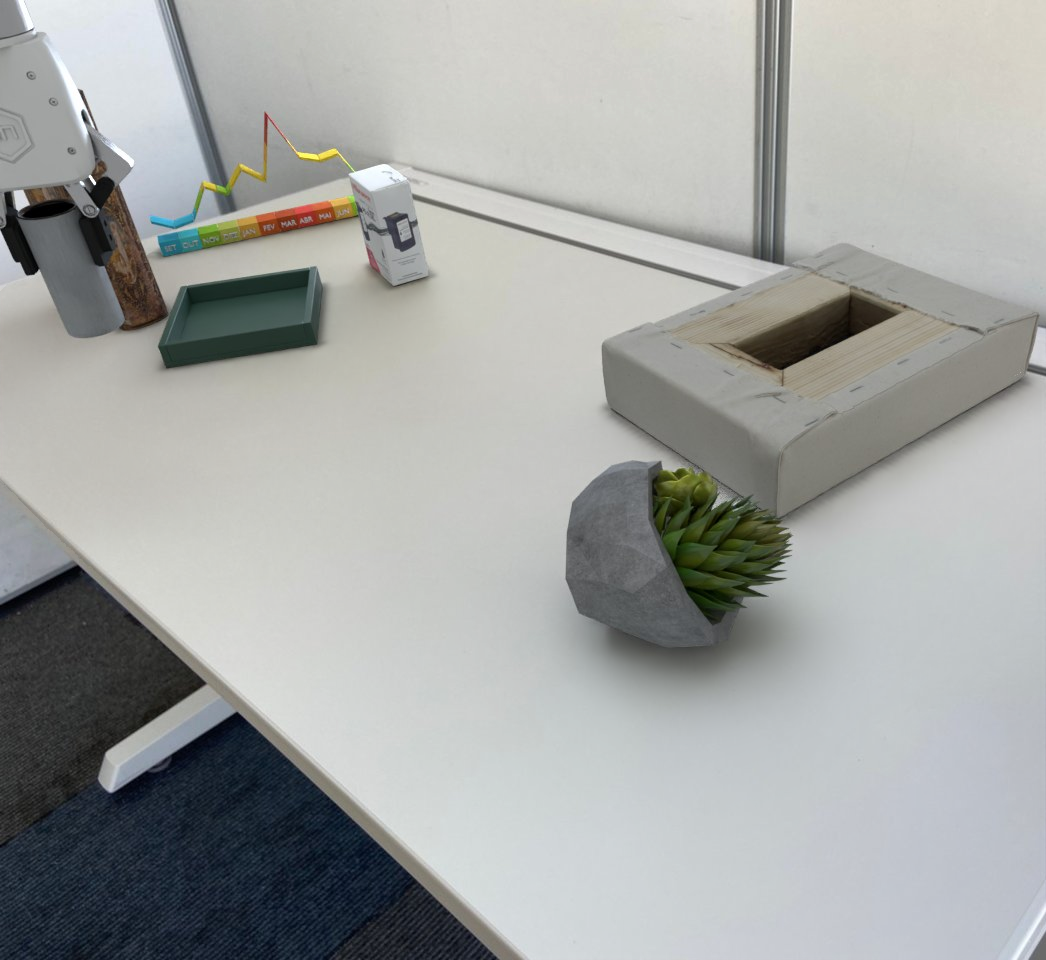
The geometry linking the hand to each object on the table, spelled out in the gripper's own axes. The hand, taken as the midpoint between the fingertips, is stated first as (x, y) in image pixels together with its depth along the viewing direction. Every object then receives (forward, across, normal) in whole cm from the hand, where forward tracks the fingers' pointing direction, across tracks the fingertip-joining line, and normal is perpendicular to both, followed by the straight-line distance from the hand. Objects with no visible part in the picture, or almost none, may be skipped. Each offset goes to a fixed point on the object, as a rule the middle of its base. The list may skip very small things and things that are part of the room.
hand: (70, 262), depth 79 cm
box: (+17, +61, -10) cm, 64 cm away
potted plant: (+17, +42, -35) cm, 57 cm away
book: (+19, -9, +35) cm, 41 cm away
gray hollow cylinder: (+6, 0, 0) cm, 6 cm away
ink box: (+18, +24, +33) cm, 45 cm away
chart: (+19, +8, +54) cm, 58 cm away
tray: (+19, +7, +24) cm, 31 cm away
